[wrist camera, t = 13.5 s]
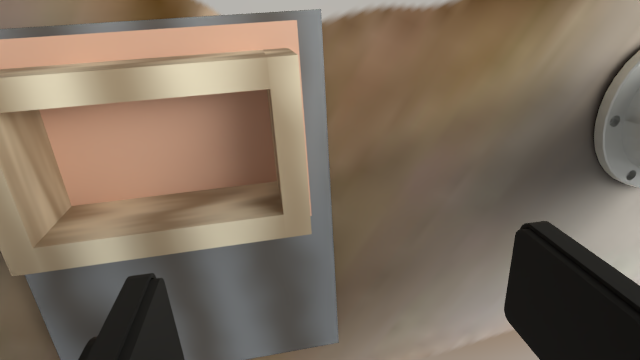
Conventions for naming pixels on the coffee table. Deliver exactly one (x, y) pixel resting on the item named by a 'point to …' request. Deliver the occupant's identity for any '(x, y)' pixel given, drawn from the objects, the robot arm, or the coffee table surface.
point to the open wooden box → (155, 211)
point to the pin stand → (190, 185)
